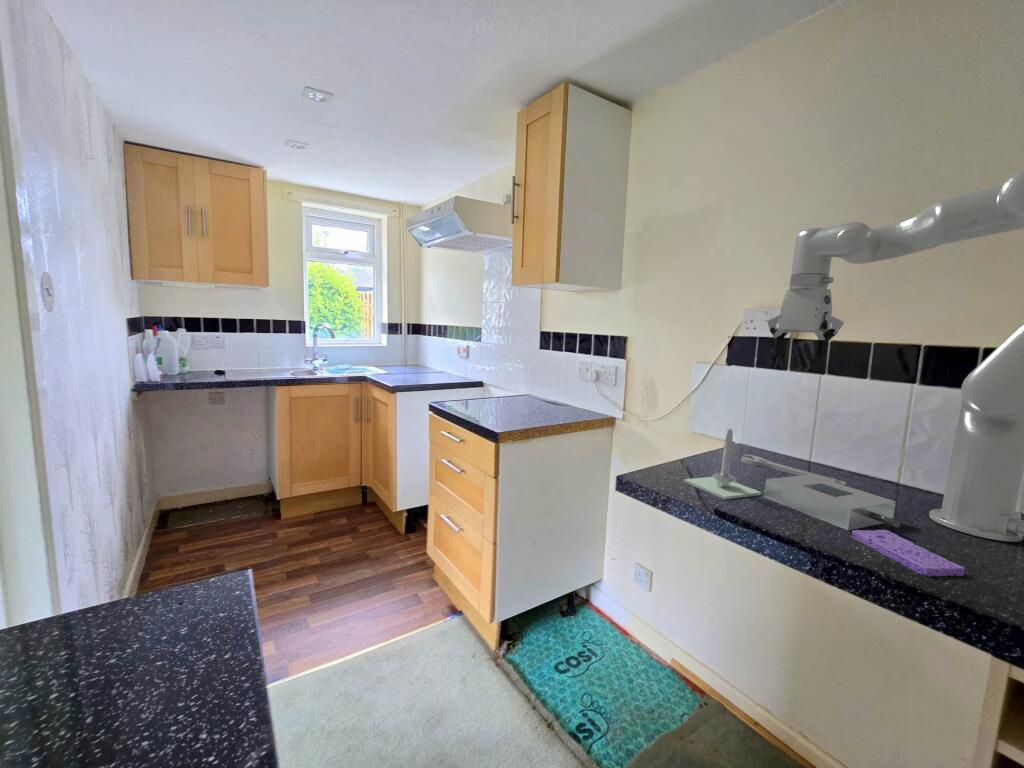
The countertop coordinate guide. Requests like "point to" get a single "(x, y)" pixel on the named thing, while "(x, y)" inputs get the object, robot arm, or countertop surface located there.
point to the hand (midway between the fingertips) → (798, 356)
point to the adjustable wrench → (782, 467)
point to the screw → (725, 464)
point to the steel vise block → (831, 501)
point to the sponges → (908, 553)
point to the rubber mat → (725, 493)
